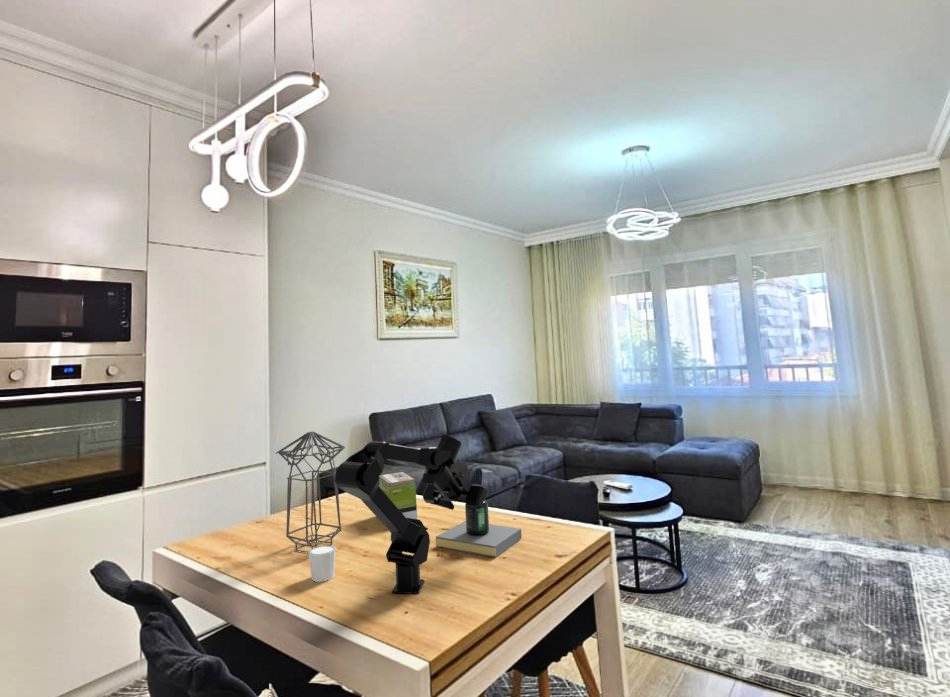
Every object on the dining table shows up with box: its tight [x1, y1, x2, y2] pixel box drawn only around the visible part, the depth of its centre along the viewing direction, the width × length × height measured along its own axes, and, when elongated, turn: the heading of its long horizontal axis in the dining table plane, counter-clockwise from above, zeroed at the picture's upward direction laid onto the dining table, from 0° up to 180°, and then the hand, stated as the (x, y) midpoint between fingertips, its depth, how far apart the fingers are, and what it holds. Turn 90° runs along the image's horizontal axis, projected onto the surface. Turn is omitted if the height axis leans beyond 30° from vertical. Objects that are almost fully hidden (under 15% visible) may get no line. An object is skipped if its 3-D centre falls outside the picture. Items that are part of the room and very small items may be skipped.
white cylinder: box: [307, 545, 337, 583], centre depth 126 cm, size 7×7×7 cm
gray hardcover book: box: [435, 520, 523, 558], centre depth 145 cm, size 16×20×3 cm
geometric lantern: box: [275, 431, 346, 554], centre depth 149 cm, size 16×16×35 cm
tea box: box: [379, 471, 418, 519], centre depth 175 cm, size 15×10×15 cm
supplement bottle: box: [464, 499, 490, 536], centre depth 146 cm, size 7×7×12 cm
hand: (466, 510), depth 141 cm, fingers open, 9 cm apart
